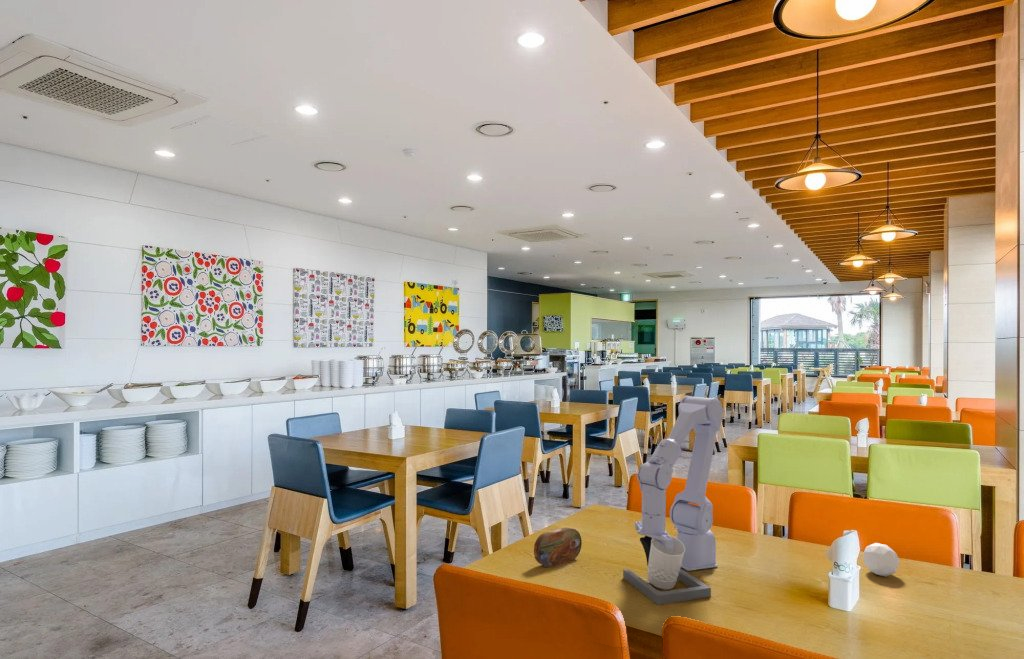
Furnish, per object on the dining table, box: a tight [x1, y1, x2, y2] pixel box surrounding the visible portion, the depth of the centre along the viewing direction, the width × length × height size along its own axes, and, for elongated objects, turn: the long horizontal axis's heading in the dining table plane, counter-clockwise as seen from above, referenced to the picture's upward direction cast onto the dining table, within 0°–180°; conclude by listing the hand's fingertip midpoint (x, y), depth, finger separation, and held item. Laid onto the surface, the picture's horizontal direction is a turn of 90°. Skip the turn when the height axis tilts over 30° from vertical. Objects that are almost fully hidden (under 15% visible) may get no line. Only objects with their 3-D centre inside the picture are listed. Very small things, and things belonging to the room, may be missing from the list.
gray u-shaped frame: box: [622, 568, 712, 606], centre depth 137 cm, size 14×16×2 cm
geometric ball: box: [862, 542, 900, 577], centre depth 145 cm, size 8×8×8 cm
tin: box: [533, 527, 583, 568], centre depth 152 cm, size 15×3×8 cm, turn 126°
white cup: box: [646, 535, 685, 590], centre depth 137 cm, size 8×8×10 cm
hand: (652, 567), depth 141 cm, fingers closed, pressing on white cup
